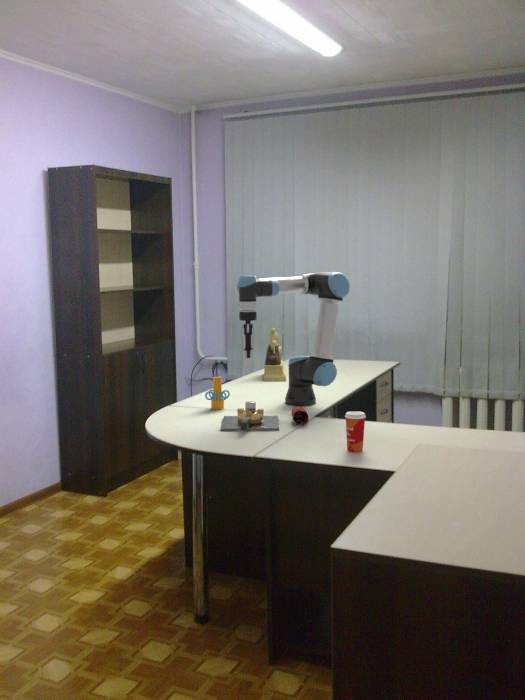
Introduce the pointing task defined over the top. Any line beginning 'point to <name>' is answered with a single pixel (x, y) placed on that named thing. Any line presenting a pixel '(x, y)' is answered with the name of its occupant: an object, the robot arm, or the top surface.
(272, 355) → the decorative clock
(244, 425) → the brass knob with lugs
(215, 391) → the cylinder
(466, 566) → the top surface
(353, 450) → the paper cup
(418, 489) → the top surface
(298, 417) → the beverage can
